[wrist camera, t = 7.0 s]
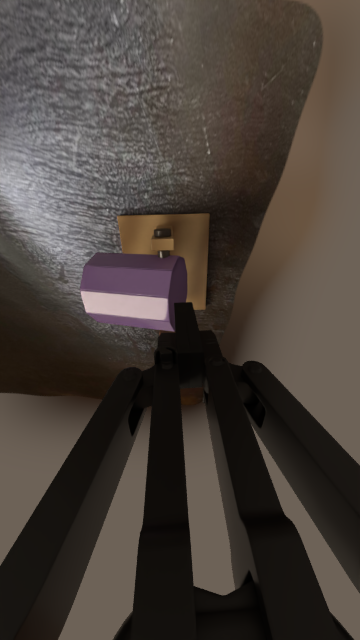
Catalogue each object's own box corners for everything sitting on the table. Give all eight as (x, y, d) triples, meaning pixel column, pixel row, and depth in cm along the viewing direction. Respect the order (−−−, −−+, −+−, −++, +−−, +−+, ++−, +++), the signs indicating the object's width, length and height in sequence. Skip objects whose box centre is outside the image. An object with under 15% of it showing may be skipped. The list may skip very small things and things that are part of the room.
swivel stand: (208, 213, 28) (232, 220, 18) (204, 306, 35) (219, 351, 25) (118, 215, 28) (89, 224, 17) (132, 309, 35) (117, 356, 24)
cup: (166, 259, 17) (70, 255, 19) (170, 350, 21) (92, 338, 23) (187, 243, 23) (113, 241, 25) (187, 315, 27) (125, 308, 29)
